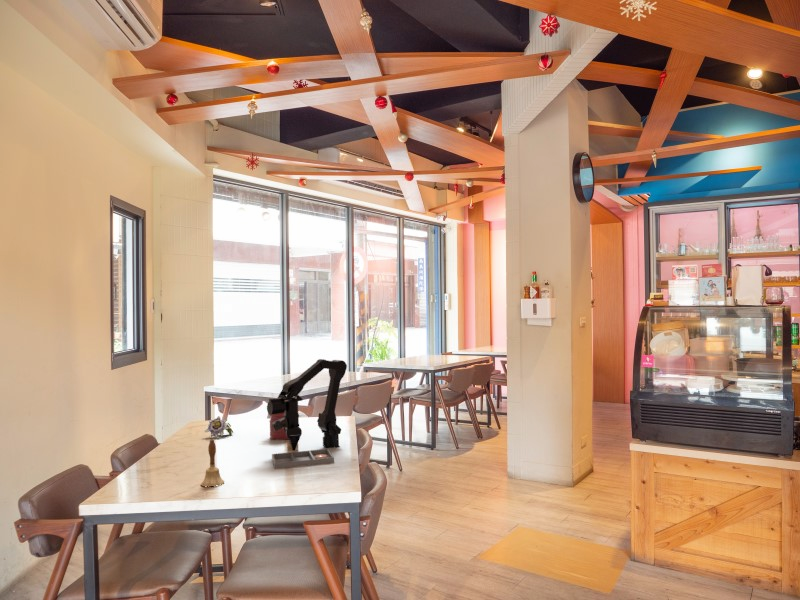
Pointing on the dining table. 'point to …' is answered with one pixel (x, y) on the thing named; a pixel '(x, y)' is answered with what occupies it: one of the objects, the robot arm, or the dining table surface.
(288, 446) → the letter cube
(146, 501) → the dining table surface
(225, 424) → the passion flower
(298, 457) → the organizer tray
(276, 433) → the canister
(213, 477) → the hand bell
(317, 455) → the peach egg shape
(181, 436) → the dining table surface
